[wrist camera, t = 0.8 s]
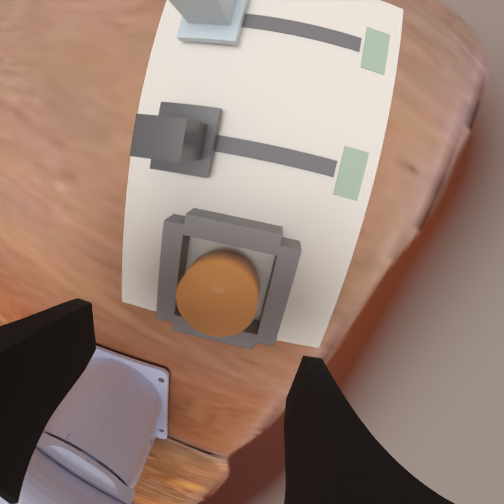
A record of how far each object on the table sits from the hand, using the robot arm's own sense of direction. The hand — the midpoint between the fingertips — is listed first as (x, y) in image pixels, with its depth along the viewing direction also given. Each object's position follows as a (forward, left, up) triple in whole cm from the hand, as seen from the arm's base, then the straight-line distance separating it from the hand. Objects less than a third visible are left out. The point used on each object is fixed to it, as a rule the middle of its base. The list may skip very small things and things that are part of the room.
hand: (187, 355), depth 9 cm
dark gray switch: (+6, +3, -6) cm, 9 cm away
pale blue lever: (+13, +3, -6) cm, 15 cm away
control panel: (+6, 0, -8) cm, 11 cm away
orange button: (0, 0, -6) cm, 6 cm away
